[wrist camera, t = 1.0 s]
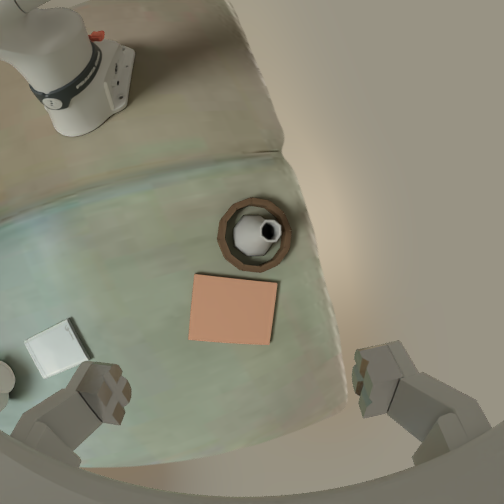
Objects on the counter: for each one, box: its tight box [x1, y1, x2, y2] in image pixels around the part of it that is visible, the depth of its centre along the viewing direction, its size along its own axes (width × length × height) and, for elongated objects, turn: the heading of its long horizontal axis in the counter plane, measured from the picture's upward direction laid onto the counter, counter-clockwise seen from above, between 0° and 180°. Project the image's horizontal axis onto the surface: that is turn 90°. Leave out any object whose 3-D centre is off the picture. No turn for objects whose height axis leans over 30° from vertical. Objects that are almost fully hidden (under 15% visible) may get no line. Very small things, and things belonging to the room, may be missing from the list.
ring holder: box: [217, 197, 292, 273], centre depth 46 cm, size 12×12×2 cm
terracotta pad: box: [188, 274, 277, 345], centre depth 46 cm, size 11×14×1 cm
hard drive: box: [24, 318, 90, 379], centre depth 38 cm, size 2×8×12 cm
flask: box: [233, 215, 281, 256], centre depth 43 cm, size 7×7×10 cm
